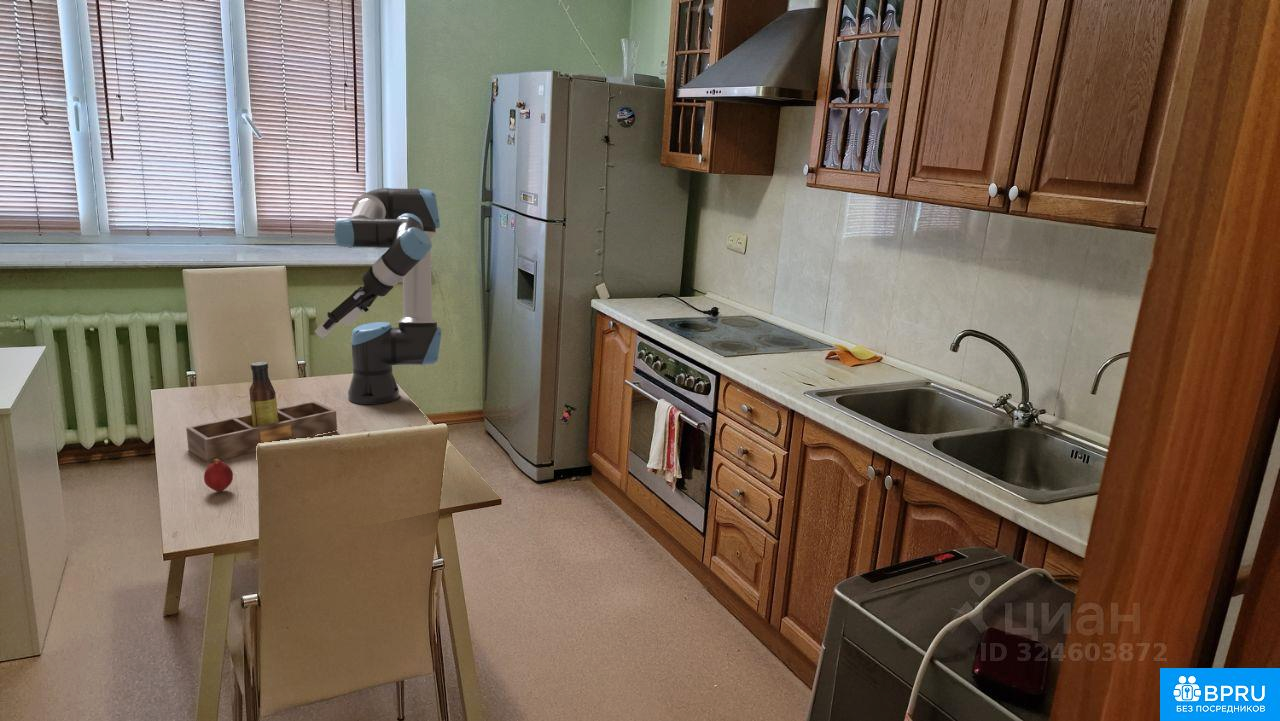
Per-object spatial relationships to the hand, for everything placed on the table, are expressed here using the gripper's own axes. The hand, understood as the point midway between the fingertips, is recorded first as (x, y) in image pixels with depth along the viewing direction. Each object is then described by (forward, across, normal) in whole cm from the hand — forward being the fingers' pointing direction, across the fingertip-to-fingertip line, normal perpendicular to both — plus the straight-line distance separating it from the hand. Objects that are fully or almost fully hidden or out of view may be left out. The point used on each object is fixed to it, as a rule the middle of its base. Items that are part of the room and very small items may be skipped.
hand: (331, 329), depth 218 cm
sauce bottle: (+30, -10, -9) cm, 33 cm away
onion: (+25, -43, -16) cm, 52 cm away
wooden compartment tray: (+31, -10, -10) cm, 34 cm away
